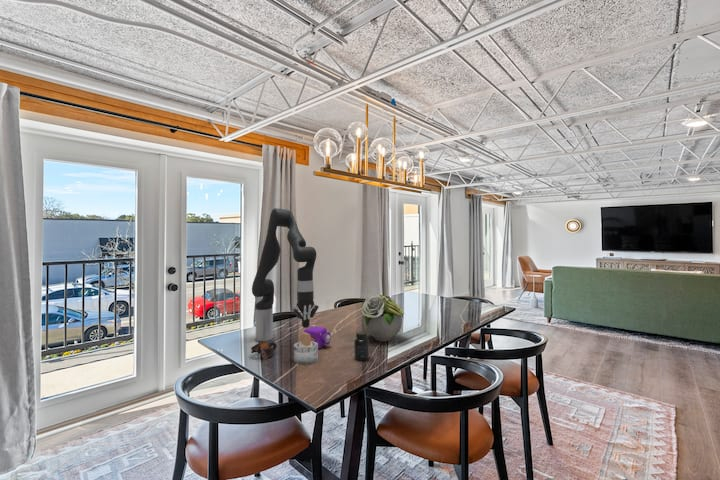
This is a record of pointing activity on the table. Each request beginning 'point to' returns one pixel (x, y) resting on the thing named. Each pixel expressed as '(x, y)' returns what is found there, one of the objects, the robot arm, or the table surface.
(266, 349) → the brown teapot
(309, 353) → the glass candle holder
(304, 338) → the knob lid with grip
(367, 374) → the table surface
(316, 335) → the toy camera
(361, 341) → the supplement bottle
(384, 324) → the flower arrangement
